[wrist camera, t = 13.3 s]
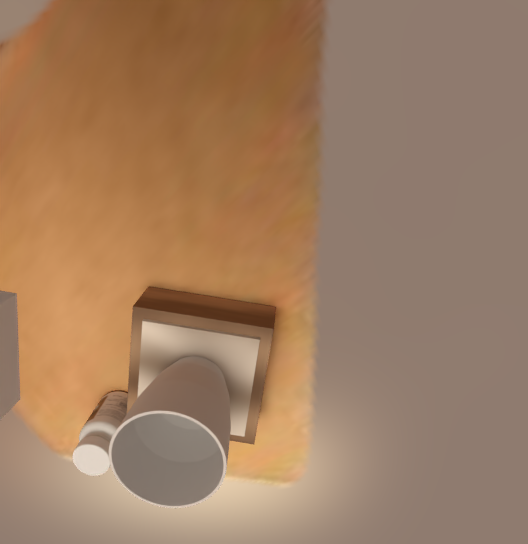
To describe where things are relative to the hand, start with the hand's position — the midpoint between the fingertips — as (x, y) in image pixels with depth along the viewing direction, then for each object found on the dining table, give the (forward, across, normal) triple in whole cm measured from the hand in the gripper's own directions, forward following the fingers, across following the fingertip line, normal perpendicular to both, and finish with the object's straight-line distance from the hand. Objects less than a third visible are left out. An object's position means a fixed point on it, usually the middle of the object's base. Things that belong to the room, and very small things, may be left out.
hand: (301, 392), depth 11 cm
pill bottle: (+32, -14, -26) cm, 43 cm away
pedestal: (+32, -6, -18) cm, 37 cm away
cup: (+27, -6, -18) cm, 33 cm away
